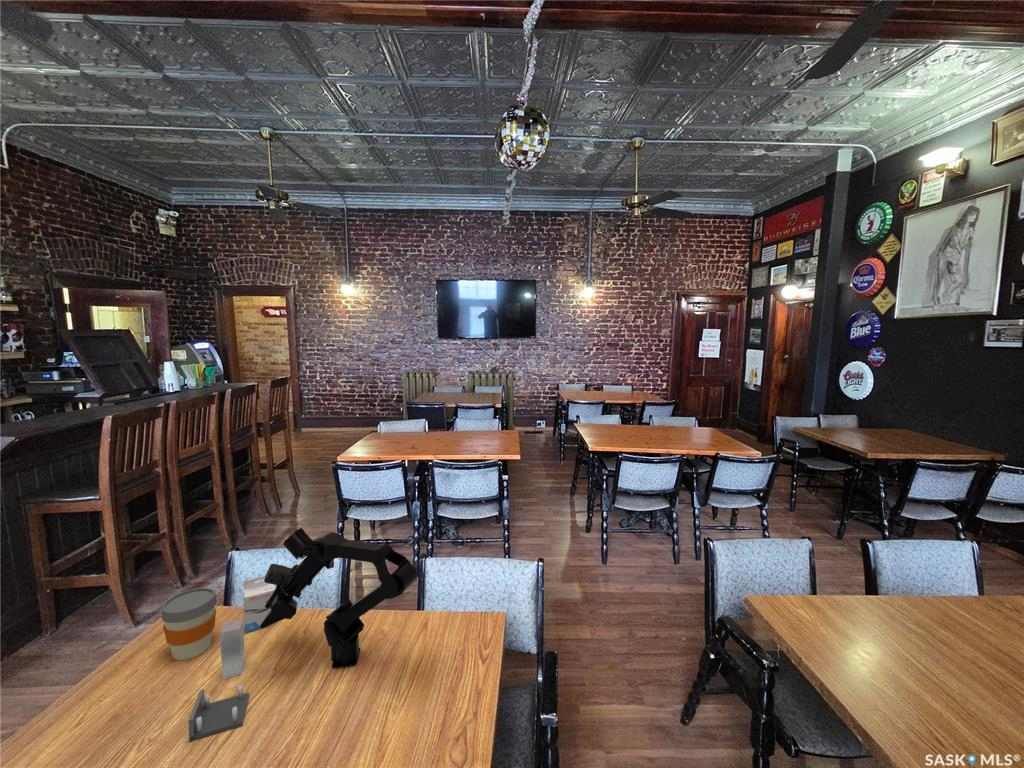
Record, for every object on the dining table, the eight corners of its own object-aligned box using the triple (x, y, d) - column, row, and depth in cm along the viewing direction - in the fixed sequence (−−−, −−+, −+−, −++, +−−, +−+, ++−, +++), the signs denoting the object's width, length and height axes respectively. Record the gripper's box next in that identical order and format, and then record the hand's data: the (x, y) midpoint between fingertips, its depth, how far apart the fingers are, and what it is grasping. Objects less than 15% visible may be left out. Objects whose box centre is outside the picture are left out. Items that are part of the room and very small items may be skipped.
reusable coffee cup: (224, 630, 128) (221, 584, 127) (210, 658, 116) (208, 607, 115) (174, 639, 124) (171, 591, 123) (155, 670, 112) (152, 617, 111)
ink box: (244, 634, 127) (242, 588, 125) (244, 625, 131) (242, 580, 130) (276, 624, 131) (275, 580, 130) (275, 615, 135) (274, 572, 134)
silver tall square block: (245, 663, 115) (243, 618, 114) (241, 674, 111) (239, 628, 110) (226, 667, 113) (224, 622, 112) (222, 679, 109) (220, 633, 108)
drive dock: (249, 696, 104) (248, 677, 104) (242, 725, 96) (241, 705, 95) (201, 709, 100) (200, 690, 100) (189, 741, 92) (188, 720, 91)
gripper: (286, 540, 123) (244, 584, 120) (280, 571, 106) (230, 623, 103) (316, 561, 127) (276, 603, 123) (314, 594, 110) (268, 644, 106)
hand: (263, 617), depth 114 cm, fingers open, 9 cm apart
